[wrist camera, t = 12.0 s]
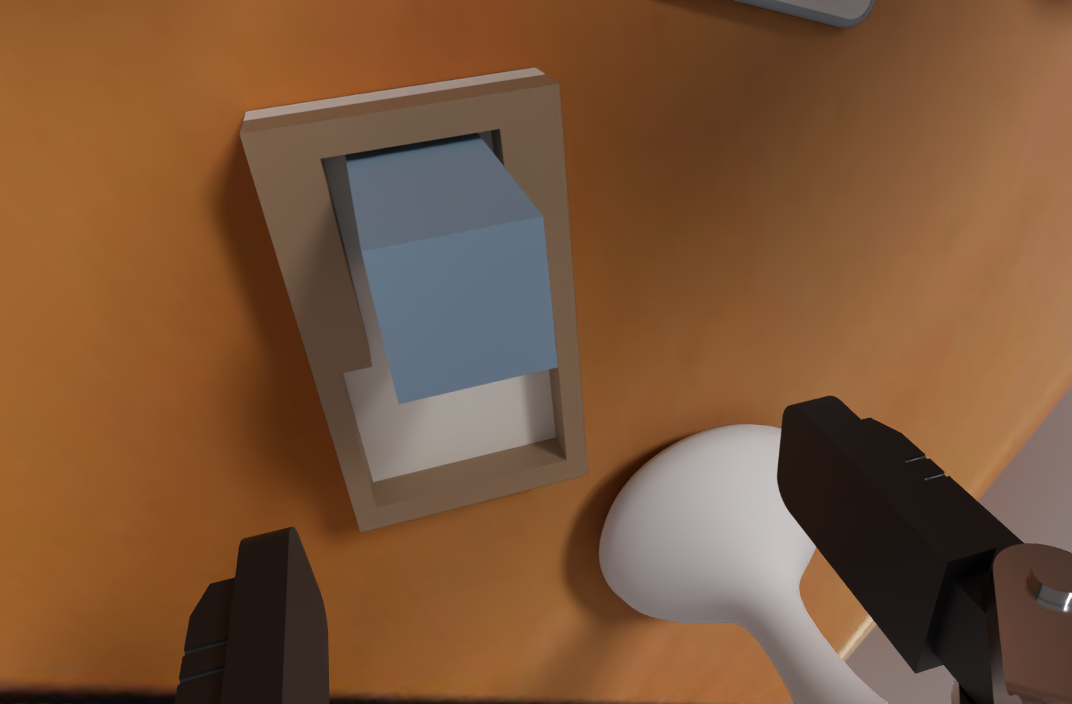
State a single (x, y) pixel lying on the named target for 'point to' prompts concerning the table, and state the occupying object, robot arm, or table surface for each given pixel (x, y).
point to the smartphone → (820, 10)
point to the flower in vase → (724, 554)
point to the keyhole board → (349, 313)
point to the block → (452, 265)
